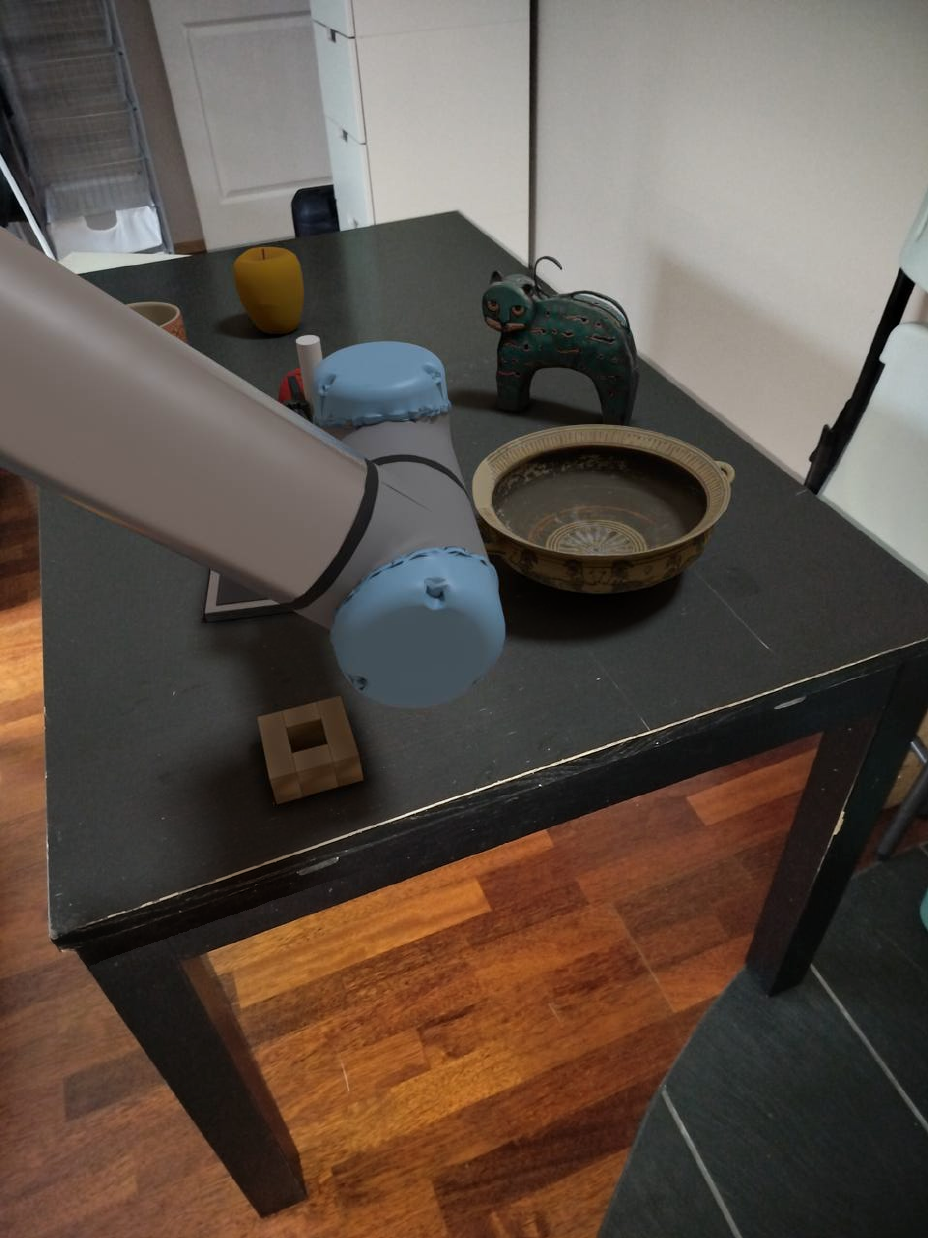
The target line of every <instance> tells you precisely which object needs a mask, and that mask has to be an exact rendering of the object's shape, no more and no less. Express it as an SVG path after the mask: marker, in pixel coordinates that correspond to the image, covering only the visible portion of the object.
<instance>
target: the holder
mask: <svg viewBox="0 0 928 1238" xmlns="http://www.w3.org/2000/svg"><path fill="white" fill-rule="evenodd" d="M257 723H258V728H259V733H260V739H261V743H262V748H263V753H264V758H265V763H266V769H267V774H268V780H269V783H270V786H271V789H272V790H271V791H272V792H273V797H274V800H275V803H276V805H279V804H283V803H287V802H291V801H294V800H298V799H301V798H303V797H304V798H305V797H307V796H311V795H314V794H319V793H322V792H326V791H329V790H332V789H336V788H337V789H338V788H340V787H345V786H348V785H351V784H354V783H359V782H362V781H364V775H363V770H362V764H361V760H360V759H361V758H360V755H359V750H358V748H357V744H356V741H355V737H354V734H353V732H352V728H351V725H350V722H349V719H348V715H347V712H346V708H345V706H344V702H343V699H342V696H341V695H338V696H334V697H330V698H326V699H322V700H318V701H315V702H310V703H307V704H303V705H299V706H295V707H291V708H288V709H283V710H279V711H275V712H271V713H268V714H263V715H261V716H257Z"/></svg>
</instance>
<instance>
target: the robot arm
mask: <svg viewBox="0 0 928 1238" xmlns="http://www.w3.org/2000/svg"><path fill="white" fill-rule="evenodd" d="M126 305H127V304H124V303H123V302H121V301H120V300H118V299H117V298H115V297H113V296H111V295H110V294H108V293H107V292H106V291H104V290H102V289H101V288H99V287H98V286H96V285H94V284H93V283H91V282H89V281H88V280H86V279H85V278H83V277H81V276H80V275H78V274H77V273H75V272H74V271H72V270H71V269H69V268H67V267H66V266H64V265H63V264H61V263H59V262H58V261H56V260H55V259H54V258H51V256H48V254H45V253H43V252H42V251H40V250H39V249H37V248H36V247H34V246H32V244H30V243H28V242H26V241H25V240H23V239H21V238H20V237H18V236H17V235H15V234H14V233H12V232H10V231H9V230H7V229H6V228H5V227H2V226H1V225H0V468H2V469H4V470H6V471H8V472H10V473H12V474H14V475H16V476H18V477H20V478H22V479H25V480H27V481H29V482H31V483H32V484H34V485H36V486H39V487H41V488H43V489H45V490H47V491H48V492H50V493H53V494H55V495H57V496H59V497H61V498H64V499H65V500H68V501H69V502H71V503H73V504H76V505H78V506H80V507H82V508H83V509H85V510H88V511H90V512H91V513H93V514H96V515H98V516H100V517H102V518H104V519H106V520H108V521H110V522H112V523H114V524H116V525H118V526H120V527H121V528H124V529H126V530H128V531H131V532H132V533H135V534H136V535H138V536H140V537H142V538H145V539H147V540H148V541H150V542H153V543H155V544H157V545H159V546H161V547H162V548H165V549H167V550H169V551H171V552H173V553H175V554H177V555H180V556H181V557H183V558H186V559H187V560H190V561H192V562H194V563H196V564H197V565H199V566H202V567H203V568H206V569H208V570H209V571H211V570H212V571H214V572H216V573H218V574H220V575H222V576H224V577H226V578H228V579H230V580H232V581H234V582H236V583H238V584H240V585H242V586H244V587H246V588H248V589H250V590H252V591H254V592H256V593H258V594H261V595H263V596H265V597H267V598H269V599H271V600H273V601H275V602H277V603H279V604H281V605H283V606H285V607H287V608H289V609H291V610H293V611H294V613H296V614H298V615H299V616H301V617H303V618H305V619H308V621H309V620H310V621H312V622H314V623H316V624H318V625H320V626H321V627H324V628H325V629H328V630H329V642H330V643H331V645H332V651H333V653H334V655H335V657H336V661H337V665H338V666H339V669H340V671H341V672H342V675H343V676H344V677H345V679H346V680H347V681H348V683H349V684H350V685H351V686H353V687H354V689H355V691H356V692H357V693H359V694H360V695H361V696H363V697H365V698H366V699H368V700H370V701H372V702H373V703H376V704H379V705H381V706H385V707H389V708H397V709H407V710H421V709H428V708H429V709H430V708H434V707H437V706H441V705H445V704H447V703H448V704H449V703H450V702H452V701H455V700H457V699H460V698H462V697H463V696H465V695H466V694H468V693H469V692H471V691H472V690H473V689H475V688H476V687H477V686H478V685H479V684H480V683H482V682H483V681H484V680H485V679H486V678H487V675H488V674H490V673H491V672H492V671H493V669H494V668H495V666H496V665H497V663H498V660H499V658H500V657H501V655H502V651H503V649H504V645H505V640H506V623H505V617H504V613H503V607H502V603H501V599H500V594H499V577H498V574H497V570H496V569H495V566H494V565H493V564H492V563H491V562H490V559H489V554H487V552H486V549H485V546H484V543H485V542H484V541H483V538H482V535H481V531H479V529H478V526H477V523H476V520H477V519H476V517H475V514H474V511H473V508H472V505H471V502H470V501H471V500H470V498H469V497H470V496H469V495H468V494H469V493H468V491H467V488H466V485H465V481H464V478H463V475H462V471H461V468H460V466H459V462H458V459H457V456H456V452H455V449H454V446H453V441H452V440H453V439H452V435H451V423H450V411H452V402H451V401H450V400H449V396H448V388H447V380H446V372H445V368H444V365H443V363H442V361H441V359H439V358H438V356H437V354H434V353H433V352H432V351H430V350H429V349H427V348H425V347H423V346H420V345H417V344H413V343H410V342H402V341H389V340H386V341H381V340H380V341H371V342H365V343H363V342H362V343H358V344H354V345H350V346H347V347H344V348H341V349H339V350H336V351H334V352H332V353H331V354H329V355H327V356H326V357H324V358H322V359H323V360H322V361H321V362H320V363H319V364H318V365H317V367H316V368H315V370H314V372H313V375H312V379H311V388H312V397H313V405H314V416H313V423H314V424H312V423H311V417H310V411H309V406H308V402H307V401H306V399H305V396H304V394H303V392H302V389H301V387H300V385H299V383H298V381H297V378H296V376H295V375H294V376H288V377H287V379H288V384H289V390H290V395H291V399H288V400H284V402H283V405H282V404H281V403H279V400H276V399H275V398H273V397H271V396H270V395H269V394H266V393H265V392H263V391H261V390H260V389H258V388H257V387H255V386H254V385H252V384H251V383H249V382H248V381H246V380H244V379H243V378H241V377H240V376H238V375H236V374H235V373H234V372H231V371H230V370H229V369H227V368H226V367H224V366H223V365H221V364H219V363H217V361H215V360H213V359H211V358H209V357H208V356H206V355H205V354H203V353H202V352H200V351H198V349H195V348H194V347H192V346H190V345H189V343H188V344H186V343H184V342H183V341H181V340H180V339H178V338H176V337H175V336H173V335H172V334H170V333H169V332H167V331H165V330H164V329H162V328H161V327H159V326H157V325H156V324H154V323H153V322H151V321H150V320H148V319H146V318H145V317H143V316H142V315H140V314H139V313H137V312H135V311H134V310H132V309H131V308H129V307H127V306H126Z"/></svg>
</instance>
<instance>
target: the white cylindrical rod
mask: <svg viewBox="0 0 928 1238" xmlns="http://www.w3.org/2000/svg"><path fill="white" fill-rule="evenodd" d="M295 346H296V352H297V357H298V363H299V368H300V370H301V376H302V382H303V387H304V393H305V399H306V401H307V402H308V406H309V411H310V417H311V423H312V424H314V423H313V416H314V405H313V397H312V388H311V379H312V375H313V372H314V370H315V368H316V367H317V365H318V364H319V363H320V362H321V361H322V360H323V359H324V358H323V353H322V346H321V340H320V337H319V336H317V335H314V334H313V335H312V334H307V335H306V334H305V335H302V336H299V337H297V338H296V339H295Z"/></svg>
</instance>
